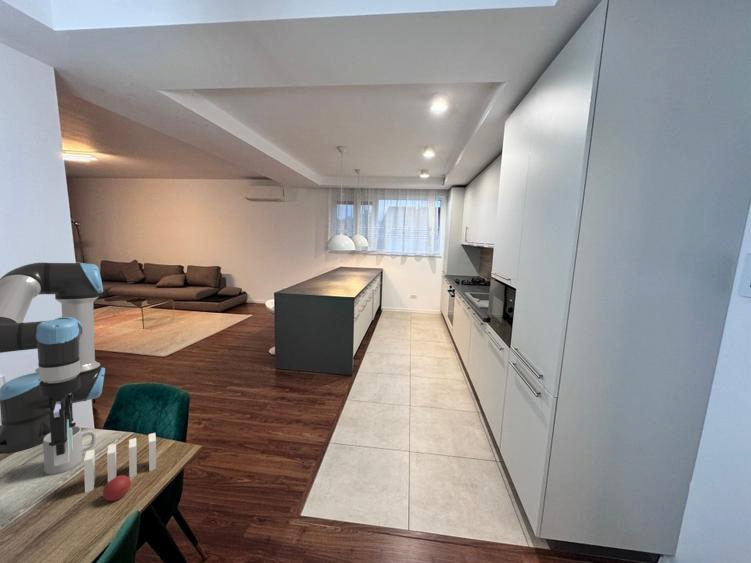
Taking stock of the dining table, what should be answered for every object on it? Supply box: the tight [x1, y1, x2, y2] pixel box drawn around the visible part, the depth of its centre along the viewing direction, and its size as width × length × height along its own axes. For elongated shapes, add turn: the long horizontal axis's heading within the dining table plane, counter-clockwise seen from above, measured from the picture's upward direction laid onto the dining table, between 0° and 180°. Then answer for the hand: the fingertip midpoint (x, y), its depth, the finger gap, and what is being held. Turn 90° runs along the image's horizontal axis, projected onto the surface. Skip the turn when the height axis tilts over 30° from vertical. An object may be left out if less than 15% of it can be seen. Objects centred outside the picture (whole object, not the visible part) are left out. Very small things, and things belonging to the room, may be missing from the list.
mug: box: [42, 425, 97, 476], centre depth 96 cm, size 12×8×11 cm
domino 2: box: [83, 448, 96, 493], centre depth 88 cm, size 2×5×10 cm, turn 39°
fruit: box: [102, 474, 132, 502], centre depth 85 cm, size 6×6×8 cm
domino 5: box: [148, 432, 157, 472], centre depth 97 cm, size 2×5×10 cm, turn 39°
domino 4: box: [128, 437, 138, 479], centre depth 94 cm, size 2×5×10 cm, turn 39°
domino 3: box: [106, 442, 118, 483], centre depth 91 cm, size 2×5×10 cm, turn 39°
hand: (63, 457), depth 81 cm, fingers closed on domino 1, 5 cm apart
